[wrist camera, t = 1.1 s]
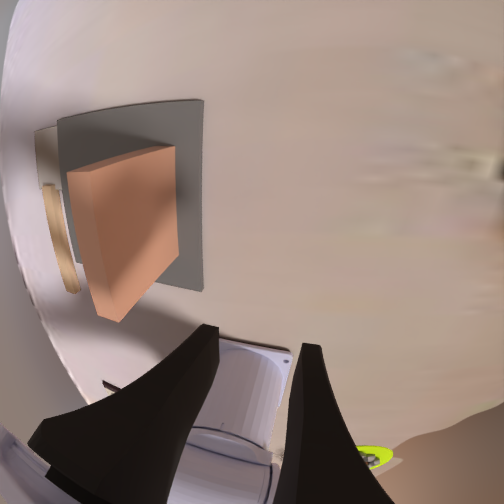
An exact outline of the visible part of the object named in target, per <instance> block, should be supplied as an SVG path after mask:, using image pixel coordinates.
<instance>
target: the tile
mask: <svg viewBox="0 0 504 504" xmlns="http://www.w3.org/2000/svg"><path fill="white" fill-rule="evenodd" d="M67 180H68V189H69V196H70V203H71V209H72V216H73V221H74V227H75V232H76V237H77V242H78V246H79V251H80V255H81V259H82V263H83V267H84V271H85V275H86V278H87V282H88V286H89V289H90V292H91V296H92V299H93V302H94V305H95V308H96V311H97V314H98V315H99V316H102V317H104V318H107V319H110V320H113V321H116V322H120V321H121V320H122V319H123V317H124V316H125V315H126V314H127V313H128V312H129V310H130V309H131V308H132V307H133V306H134V305H135V303H136V302H137V301H138V300H139V299H140V298H141V297H142V295H143V294H144V293H145V292H146V291H147V290H148V289H149V287H150V286H151V285H152V284H153V283H154V282H155V281H156V280H157V279H158V277H159V276H160V275H161V274H162V273H163V272H164V271H165V270H166V269H167V267H168V266H169V265H170V264H171V263H172V262H173V261H174V260H175V259H176V258H177V257H178V255H179V248H178V232H177V212H176V180H175V146H153V147H149V148H145V149H141V150H137V151H133V152H129V153H126V154H122V155H119V156H115V157H112V158H109V159H105V160H102V161H99V162H96V163H93V164H89V165H86V166H83V167H81V168H78V169H75V170H72V171H69V172H67Z"/></svg>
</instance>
